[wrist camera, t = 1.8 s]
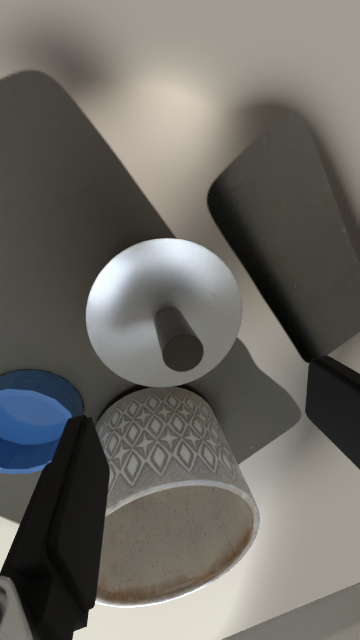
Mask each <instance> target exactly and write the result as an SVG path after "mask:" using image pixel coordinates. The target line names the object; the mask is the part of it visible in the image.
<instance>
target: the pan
mask: <svg viewBox="0 0 360 640" xmlns="http://www.w3.org/2000/svg"><path fill="white" fill-rule="evenodd" d="M80 415H83V403H82V400H81V397H80V395H79V394H78V392H77V391H76V389H75V388H74V387H73V386H72V385H71V384H70V383H69V382H67V381H66V380H64V379H63V378H61V377H59V376H57V375H54V374H52V373H48V372H44V371H39V370H19V371H13V372H9V373H6V374H4V375H1V376H0V473H5V474H27V473H32V472H35V471H39V470H43V469H44V467H45V465H46V464H47V463H50V462H51V461H52V458H53V456H54V453H55V450H56V448H57V445H58V443H59V440H60V438H61V435H62V432H63V430H64V427H65V425H66V422H67V420H68V419H69V418H72V417H76V416H80Z"/></svg>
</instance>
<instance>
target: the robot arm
mask: <svg viewBox="0 0 360 640" xmlns="http://www.w3.org/2000/svg"><path fill="white" fill-rule="evenodd" d="M305 412H306V415H307V416H308V418H309V419H310V420H311V421H312V422H313V423H314V424H315V425H316V426H317V427H318V428H319V429H320V430H321V431H322V432H323V433H324V434H325V435H326V436H327V437H328V438H329V439H330V440H331V441H332V442H333V443H334V444H335V445H336V446H337V447H338V448H339V449H340V450H341V451H342V452H343V453H344V454H345V455H346V456H347V457H348V458H349V459H350V460H351V461H352V462H353V463H354V464H355V465H356V466H357V467H358V468H359V469H360V374H359V373H357V372H355V371H354V370H352V369H350V368H348V367H347V366H345V365H343V364H341V363H340V362H338V361H336V360H335V359H333V358H331V357H329V356H321V357H317V358H314V359H312V360H311V363H310V364H309V370H308V383H307V396H306V409H305ZM109 478H110V469H109V464H108V462H107V459H106V456H105V453H104V450H103V448H102V445H101V442H100V439H99V437H98V434H97V431H96V428H95V426H94V423H93V420H92V418H91V417H89V418H87V417H86V415H80V416H76V417H72V418H69V419H68V420H67V422H66V425H65V427H64V430H63V432H62V435H61V438H60V440H59V443H58V445H57V448H56V450H55V453H54V456H53V458H52V461H51V462H50V463H47V464H46V465H45V467H44V469H43V470H42V473H41V475H40V478H39V480H38V482H37V485H36V487H35V490H34V492H33V494H32V497H31V499H30V502H29V504H28V507H27V509H26V511H25V514H24V516H23V519H22V521H21V524H20V526H19V528H18V531H17V533H16V536H15V538H14V541H13V543H12V545H11V548H10V550H9V553H8V555H7V558H6V560H5V562H4V565H3V567H2V570H1V572H0V640H72V638H73V632H74V631H76V630H79V629H81V628H84V627H86V626H87V620H88V612H89V609H92V608H93V607H94V605H95V601H96V595H97V586H98V577H99V568H100V559H101V550H102V541H103V532H104V523H105V514H106V505H107V496H108V487H109ZM222 640H360V583H357V584H355V585H352V586H350V587H348V588H345V589H343V590H340V591H338V592H335V593H333V594H331V595H328V596H326V597H324V598H321V599H318V600H316V601H314V602H311V603H309V604H306V605H304V606H302V607H299V608H297V609H294V610H292V611H289V612H287V613H285V614H282V615H280V616H277V617H275V618H272V619H270V620H268V621H265V622H263V623H260V624H258V625H256V626H253V627H251V628H249V629H246V630H244V631H241V632H239V633H236V634H234V635H232V636H229V637H227V638H224V639H222Z"/></svg>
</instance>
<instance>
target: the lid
mask: <svg viewBox="0 0 360 640" xmlns="http://www.w3.org/2000/svg"><path fill="white" fill-rule="evenodd" d="M85 318H86V328H87V332H88V336H89V339H90V342H91V344H92V347H93V348H94V350H95V352H96V354H97V355H98V357H99V358H100V359H101V360H102V362H103V363H104V364H105V365H106V366H107V367H108V368H109V369H110V370H111V371H113V372H114V373H116V374H117V375H118V376H120V377H122V378H124V379H125V380H128V381H130V382H132V383H135V384H139V385H142V386H148V387H160V388H163V387H173V386H179V385H182V384H186V383H189V382H191V381H194V380H196V379H198V378H200V377H202V376H203V375H205V374H207V373H208V372H209V371H211V370H212V369H213V368H214V367H216V366H217V365H218V364H219V363H220V362H221V361H222V360H223V358H224V357H225V356H226V355H227V353H228V352H229V351H230V349H231V347H232V345H233V344H234V342H235V340H236V337H237V335H238V332H239V328H240V324H241V318H242V301H241V295H240V291H239V288H238V285H237V282H236V279H235V278H234V276H233V274H232V272H231V271H230V269H229V268H228V267H227V265H226V264H225V263H224V262H223V261H222V260H221V259H220V258H219V257H218V256H217V255H216V254H214V253H213V252H212V251H210V250H209V249H207V248H205V247H203V246H201V245H200V244H197V243H194V242H191V241H188V240H183V239H179V238H156V239H151V240H146V241H143V242H140V243H137V244H135V245H132V246H130V247H128V248H127V249H125V250H123V251H121V252H120V253H119V254H117V255H116V256H115V257H113V258H112V259H111V260H110V261H109V262H108V263H107V264H106V265H105V266H104V268H103V269H102V270H101V272H100V273H99V274H98V276H97V277H96V279H95V281H94V283H93V285H92V287H91V290H90V293H89V295H88V300H87V304H86V316H85Z"/></svg>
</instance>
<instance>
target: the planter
mask: <svg viewBox="0 0 360 640" xmlns="http://www.w3.org/2000/svg"><path fill="white" fill-rule="evenodd" d="M95 428H96V431H97V434H98V437H99V439H100V442H101V445H102V448H103V450H104V453H105V456H106V459H107V462H108V464H109V469H110V478H109V487H108V496H107V505H106V514H105V523H104V532H103V541H102V550H101V559H100V568H99V577H98V586H97V595H96V601H95V603H98V604H102V605H106V606H113V607H140V606H148V605H153V604H159V603H162V602H167V601H170V600H173V599H176V598H179V597H182V596H185V595H187V594H190V593H192V592H194V591H197V590H199V589H200V588H202V587H204V586H206V585H208V584H210V583H211V582H213V581H215V580H216V579H218V578H219V577H221V576H222V575H223V574H225V573H226V572H227V571H229V570H230V569H231V568H232V567H233V566H234V565H236V564H237V563H238V562H239V561H240V560H241V558H242V557H243V556H244V555H245V554H246V553H247V551H248V550H249V548H250V547H251V545H252V544H253V542H254V540H255V538H256V535H257V532H258V529H259V522H260V517H259V510H258V507H257V505H256V502H255V500H254V498H253V496H252V494H251V492H250V490H249V488H248V485H247V483H246V481H245V479H244V477H243V475H242V473H241V470H240V468H239V466H238V464H237V462H236V460H235V457H234V455H233V453H232V451H231V449H230V447H229V445H228V443H227V440H226V438H225V436H224V434H223V432H222V430H221V428H220V425H219V423H218V421H217V419H216V417H215V415H214V413H213V411H212V409H211V407H210V406H209V404H208V403H207V402H206V401H205V400H204V399H203V398H202V397H200V396H198V395H197V394H195V393H193V392H191V391H189V390H186V389H182V388H178V387H163V388H160V387H151V388H145V389H142V390H139V391H136V392H133V393H131V394H129V395H127V396H125V397H123V398H121V399H120V400H118V401H117V402H115V403H114V404H113V405H112V406H111V407H109V408H108V409H107V410H106V411H105V413H104V414H103V415H102V416H101V418H100V419H99V421H98V422H97V424H96V426H95Z"/></svg>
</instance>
